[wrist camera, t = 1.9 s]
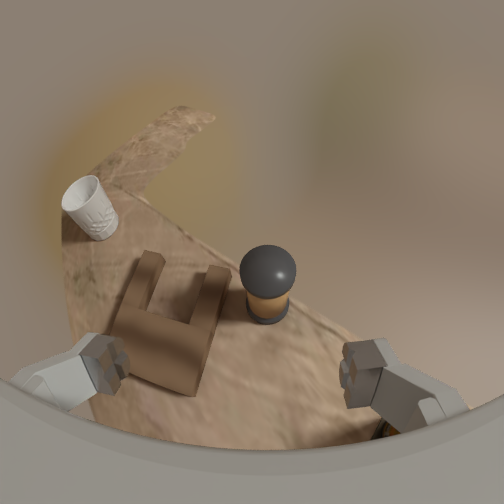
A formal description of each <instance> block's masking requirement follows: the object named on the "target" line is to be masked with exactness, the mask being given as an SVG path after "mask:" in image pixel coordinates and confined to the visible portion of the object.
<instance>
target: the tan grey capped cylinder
mask: <svg viewBox="0 0 504 504" xmlns="http://www.w3.org/2000/svg"><path fill="white" fill-rule="evenodd" d="M295 276H296V264H295V262H294V259H293V258H292V257H291V255H290V254H289V253H288V252H287V251H286V250H284V249H282V248H280V247H277V246H274V245H262V246H259V247H256V248H253V249H252V250H250V251H249V252H248V253H247V254H246V255H245V256H244V257H243V259H242V261H241V264H240V277H241V282H242V284H243V286H244V288H245V289H246V292H247V300H246V306H247V310H248V313H249V315H250V316H251V318H252V319H253V320H255V321H256V322H258V323H261V324H265V325H270V324H274V323H277V322H279V321H280V320H282V319H283V318H284V316H285V315H286V313H287V311H288V307H289V298H288V294H289V290H290V289H291V287H292V285H293V283H294V281H295Z"/></svg>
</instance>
